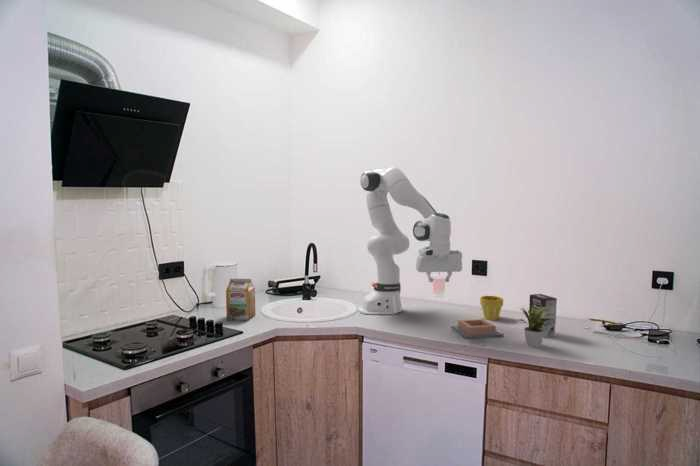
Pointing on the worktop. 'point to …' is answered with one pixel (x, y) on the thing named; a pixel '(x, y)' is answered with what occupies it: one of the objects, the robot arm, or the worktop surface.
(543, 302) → the coffee box
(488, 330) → the cup holder
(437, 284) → the beverage cup
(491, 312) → the plant pot
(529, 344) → the house plant
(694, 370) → the worktop surface
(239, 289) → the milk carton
